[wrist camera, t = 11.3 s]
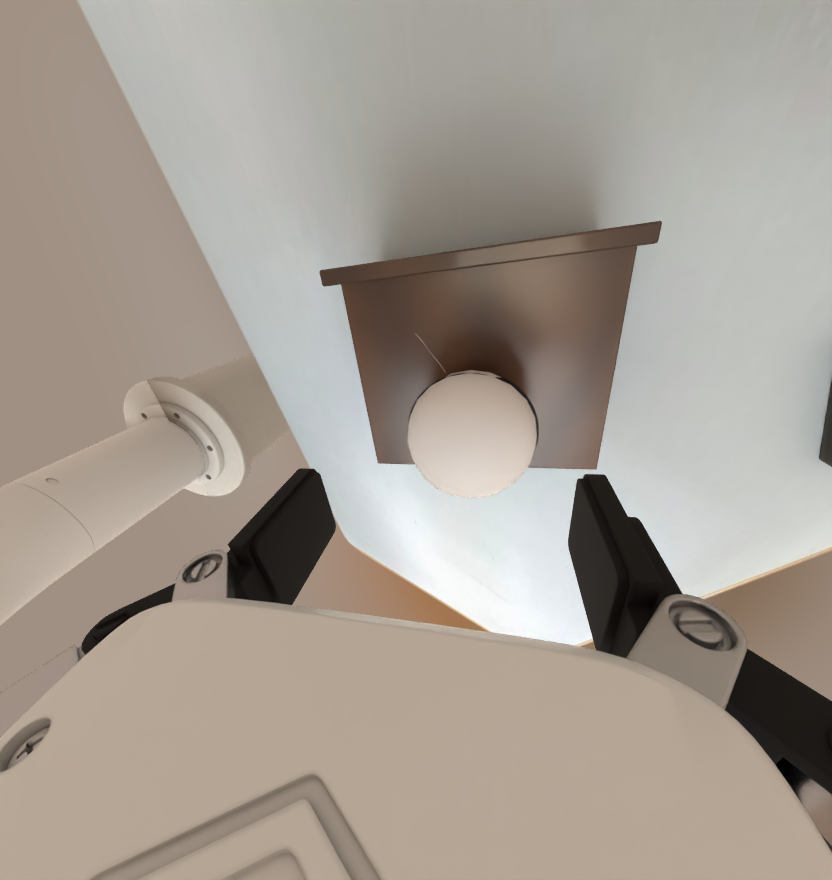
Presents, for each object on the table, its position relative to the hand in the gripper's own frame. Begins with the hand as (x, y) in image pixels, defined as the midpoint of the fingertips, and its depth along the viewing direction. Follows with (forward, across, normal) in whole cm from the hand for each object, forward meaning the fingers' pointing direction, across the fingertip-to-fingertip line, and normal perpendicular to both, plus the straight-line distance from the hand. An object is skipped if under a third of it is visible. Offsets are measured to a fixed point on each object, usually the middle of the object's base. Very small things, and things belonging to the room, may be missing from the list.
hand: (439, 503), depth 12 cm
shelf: (+19, -1, -1) cm, 19 cm away
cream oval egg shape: (+11, 0, 0) cm, 11 cm away
